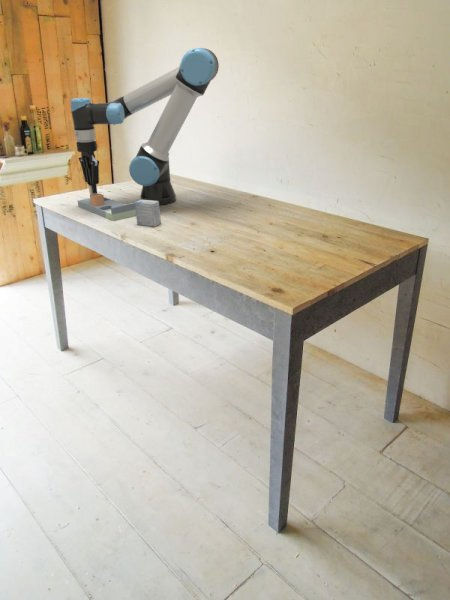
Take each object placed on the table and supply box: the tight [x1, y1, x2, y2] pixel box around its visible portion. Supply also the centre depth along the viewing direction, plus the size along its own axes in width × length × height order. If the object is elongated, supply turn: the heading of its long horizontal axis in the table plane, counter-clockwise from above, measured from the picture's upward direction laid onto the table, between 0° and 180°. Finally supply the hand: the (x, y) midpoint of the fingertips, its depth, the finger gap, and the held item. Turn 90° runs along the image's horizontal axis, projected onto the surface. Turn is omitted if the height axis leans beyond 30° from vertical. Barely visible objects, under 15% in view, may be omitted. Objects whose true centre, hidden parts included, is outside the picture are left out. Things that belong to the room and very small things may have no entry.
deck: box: [77, 196, 136, 222], centre depth 204 cm, size 30×11×5 cm, turn 41°
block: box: [89, 192, 105, 207], centre depth 203 cm, size 4×4×4 cm
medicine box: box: [135, 199, 162, 227], centre depth 184 cm, size 8×4×9 cm, turn 65°
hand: (94, 200), depth 205 cm, fingers closed
